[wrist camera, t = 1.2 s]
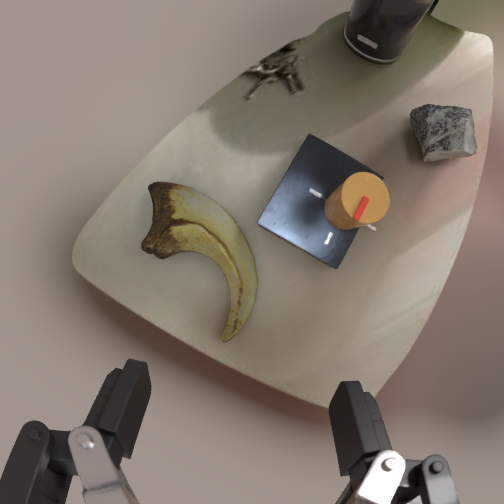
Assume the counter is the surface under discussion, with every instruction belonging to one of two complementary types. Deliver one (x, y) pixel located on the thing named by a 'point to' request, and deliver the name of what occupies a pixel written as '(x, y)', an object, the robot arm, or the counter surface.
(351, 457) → the robot arm
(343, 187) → the tan cylinder
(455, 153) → the stone
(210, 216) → the claw
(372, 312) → the counter surface
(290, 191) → the panel
